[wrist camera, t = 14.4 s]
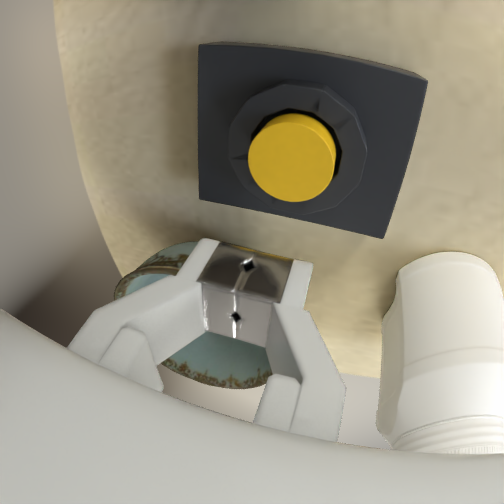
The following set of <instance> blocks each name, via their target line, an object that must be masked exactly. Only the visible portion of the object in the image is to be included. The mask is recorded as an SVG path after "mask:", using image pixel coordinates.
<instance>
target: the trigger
mask: <svg viewBox="0 0 504 504" xmlns="http://www.w3.org/2000/svg"><path fill="white" fill-rule="evenodd" d="M335 158H336V148H335V143H334V140H333V138H332V136H331V134H330V132H329V131H328V130H327V129H326V127H325V126H324V125H323V124H321V123H320V122H319V121H317V120H316V119H314V118H312V117H310V116H307V115H303V114H298V113H289V114H284V115H280V116H278V117H276V118H274V119H272V120H271V121H269V122H268V123H267V124H266V125H265V126H264V127H263V129H262V130H261V131H260V132H259V133H258V134H257V135H256V137H255V138H254V139H253V141H252V143H251V145H250V148H249V152H248V164H249V169H250V172H251V174H252V177H253V178H254V180H255V181H256V183H257V184H258V185H259V186H260V187H261V188H262V189H263V190H264V191H265V192H266V193H268V194H269V195H271V196H273V197H275V198H278V199H280V200H284V201H289V202H300V201H306V200H309V199H312V198H314V197H316V196H317V195H319V194H320V193H321V192H323V191H324V190H325V188H326V187H327V186H328V184H329V183H330V181H331V179H332V176H333V172H334V165H335Z"/></svg>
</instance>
